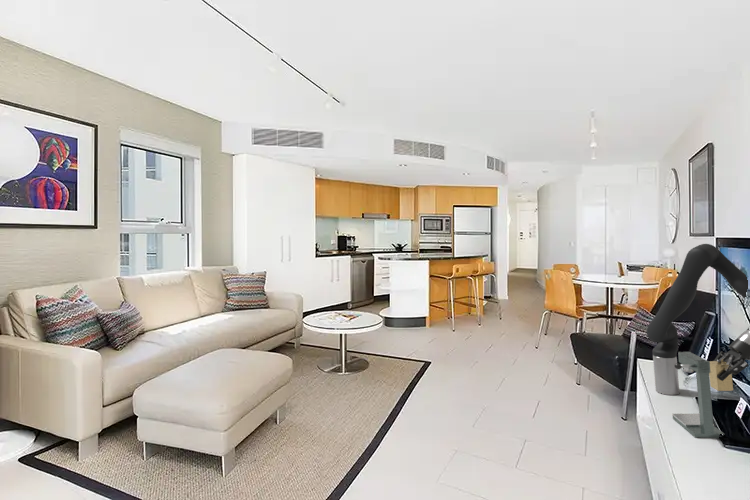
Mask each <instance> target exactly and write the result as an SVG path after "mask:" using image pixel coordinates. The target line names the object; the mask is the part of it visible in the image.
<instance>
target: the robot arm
mask: <svg viewBox="0 0 750 500" xmlns="http://www.w3.org/2000/svg"><path fill="white" fill-rule="evenodd" d="M681 266H682V267H681V269H680V271H679V273H678V275H677V277H676V278H675V280H674V282H673V284H672V285H671V287H670V288H669V290H668V292H667V293H666V296H665V298H664V300H663V302H662V303H661V305H660V307H659V309H658V311H657V312H656V314H655V316H654V317H653V318H652V320H651V321H650V322H649V324H648V325H647V328H646V335H647V338H648V339H649V341H651V342H653V343H657V345H655V347H653V349H652V361H653V371H654V373H653V374H654V386H655V392H657V393H658V392H659V394H661V393H662V394H663V395H668V396H676V395H679V394H680V384H679V383H680V382H679V369H676V368H675V367H674V365H675V364H676V363H678V359H677V358H678V357H677V353H678V352H679V334H678V330H677V327H676V326H675V324H673V322H674V321H675V320H676V319H677V318H678V317H680V316H681V315H682V314H683V313H684V312H686V310H687V309H688V308H689V307H690V305H691V304H692V302H693V300H694V299H695V297H696V295H697V290H698V283H699V281H700V278H702V276H703V275H704V273H705V272H706V271H707V269H708V268H712V269H713V270H714V271H716V272H717V273H719V274H720V275H721V276H723V278H724V280H726V282H727V283H728V284H729V286H730V287H731V288H732V289H733V290H734V291H735V292H736V293H737V294H738V295H740V296H741V297H742V298H744V299H745V297H746V292H747V289H748V280H747V277H746V275H747V274H746V273H744V272H743V271H742V270H741V269H739V267H737V266H736V265H735V264H734V263H733V262H732V261H731V260H729V258H727V257H726V256H725V254H723V252H721V251H720V249H718V248H717V247H716V246H714V245H712V244H710V243H701V244H698V245H696V246H695V247H693V248H691V249H690V250H689V251H688V252H687V253H686V255H685V258H684V261H683V264H682V265H681ZM728 348H729V349H730V350H728V351H726V352H724V351H722V350H721V351H720V352H718V354H717V355H716V357H715V358H714V359H713V361H717V360H721V361H724V362H726V364H727V367H726V368H725V369H724V370H723V371H722V372H721V373H720V374H719V375H718V376H717V378H718V379H720V380H721V381H723V380H724V379H726V378H727V377H728V376H729V375H730V374H732V375H734V376H736V375H738V374H739V373H741V372H742V371H743V370H745V369H746V368H748V367H749V366H750V364H748V363H747V361H750V330H749V327H748V328H747V329H746V330H745V331H744V332H742V333H740V335H738V337H737V338H735V339H734V341H733V342H731V344H729V346H728ZM746 360H747V361H746ZM730 367H731V368H730ZM729 368H730V369H729ZM662 394H661V395H662Z"/></svg>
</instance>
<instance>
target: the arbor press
mask: <svg viewBox="0 0 750 500" xmlns="http://www.w3.org/2000/svg"><path fill="white" fill-rule="evenodd" d="M677 353H678V354H677V355H678V357H677V358H678V362H677V363H676V364H675V365H674V367H675V368H676V369H678V370H681V369H683V372H685V373H688V374H689V373H690V374H691V373H694V372H695V374H696V375H695V376H696V377H695V378H696V388H697V402H698V411H699V413H672V419H673V420H674V421H675V423H677V424H678V425H679V426H680V427H681V428H683V429H684V430H685V431H686V432H688V433H689V435H691V436H693V437H694V438H695V439H696V438H697V439H698V438H704V439H705V438H708V439H713V438H714V439H715V438H716V439H720V438H719V435H720V434H724V435H725V433H724V432H723V431H721V430H720V429H719V428H718V427H716V426H715V424H714V417H713V406H712V393H711V386H710V376H709V373H711V372H710V362H709V360H707V359H705V358H703V357H700V356H699V355H697V354H696V353H695V354H694V353H693V352H691V351H677Z"/></svg>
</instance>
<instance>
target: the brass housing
mask: <svg viewBox="0 0 750 500" xmlns="http://www.w3.org/2000/svg"><path fill="white" fill-rule="evenodd" d="M708 361H709V360H708ZM709 362H710V372H711V373H709V378H710V388H712V389H713V390H716V391H718V392H727V391H729V392H730V391H734V384H733V374H730V375H729V376H728V377H727V378H726V379H724V380H723V381H721V380H720V379H718V378H717V376H718V375H719V374H720V373H721V372H722V371H723V370H724V369H725V368H726V367H727V364H726V362H724V361H721V360H717V361H714V360H712V361H711V360H710V361H709ZM730 368H731V367H730ZM730 368H729V369H730Z"/></svg>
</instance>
